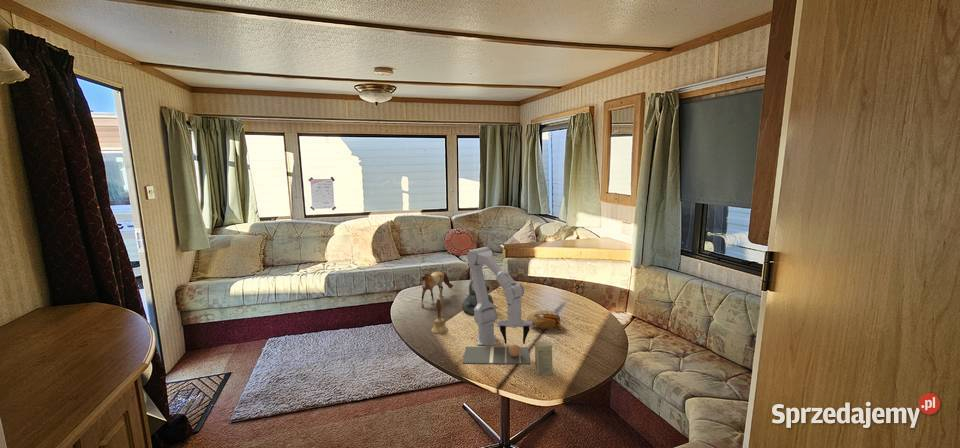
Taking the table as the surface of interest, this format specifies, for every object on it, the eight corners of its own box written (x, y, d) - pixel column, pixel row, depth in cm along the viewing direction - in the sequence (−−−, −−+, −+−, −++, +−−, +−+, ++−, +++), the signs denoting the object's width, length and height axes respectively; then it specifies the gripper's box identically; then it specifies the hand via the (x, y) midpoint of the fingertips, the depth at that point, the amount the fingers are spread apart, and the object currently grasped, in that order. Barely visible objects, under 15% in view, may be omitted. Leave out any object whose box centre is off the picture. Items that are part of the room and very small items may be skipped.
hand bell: (429, 328, 197) (428, 298, 194) (445, 325, 200) (444, 295, 197) (433, 335, 189) (432, 303, 187) (450, 331, 192) (448, 301, 190)
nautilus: (575, 332, 189) (553, 343, 180) (542, 316, 206) (522, 325, 197) (575, 317, 187) (554, 327, 178) (543, 302, 204) (521, 311, 195)
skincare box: (550, 369, 156) (550, 340, 154) (552, 375, 152) (553, 345, 150) (534, 369, 156) (534, 341, 154) (536, 375, 151) (536, 346, 149)
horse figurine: (425, 311, 219) (423, 276, 216) (414, 309, 223) (412, 274, 219) (454, 293, 246) (453, 262, 243) (444, 292, 250) (442, 261, 246)
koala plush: (493, 316, 210) (493, 281, 207) (460, 316, 211) (459, 281, 207) (493, 304, 227) (492, 271, 224) (462, 304, 228) (461, 272, 224)
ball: (509, 353, 169) (508, 342, 168) (520, 353, 168) (520, 342, 168) (509, 359, 164) (508, 348, 163) (521, 359, 163) (520, 347, 163)
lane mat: (465, 347, 176) (465, 346, 176) (528, 347, 174) (528, 346, 174) (462, 363, 162) (462, 362, 162) (530, 364, 160) (530, 363, 160)
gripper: (496, 316, 160) (497, 347, 162) (532, 316, 158) (532, 347, 161) (497, 309, 166) (497, 339, 169) (531, 309, 165) (531, 339, 168)
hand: (514, 342), depth 165 cm, fingers open, 7 cm apart
